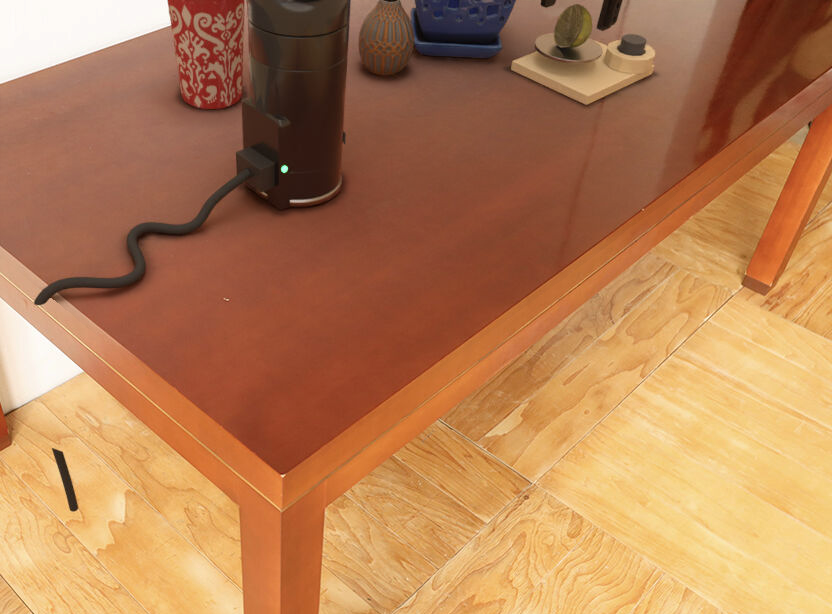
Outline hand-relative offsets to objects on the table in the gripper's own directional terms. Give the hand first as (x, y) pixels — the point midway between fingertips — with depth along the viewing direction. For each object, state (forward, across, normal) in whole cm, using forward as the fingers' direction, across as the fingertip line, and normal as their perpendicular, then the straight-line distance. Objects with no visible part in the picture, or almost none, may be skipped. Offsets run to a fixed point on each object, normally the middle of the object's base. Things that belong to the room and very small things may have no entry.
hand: (575, 17), depth 104 cm
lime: (+4, 0, 0) cm, 4 cm away
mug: (+8, -22, -38) cm, 45 cm away
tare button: (+4, +5, +7) cm, 9 cm away
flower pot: (+7, -14, -5) cm, 17 cm away
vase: (+7, -14, -18) cm, 24 cm away
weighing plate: (+4, 0, 0) cm, 4 cm away
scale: (+7, +2, +2) cm, 8 cm away
